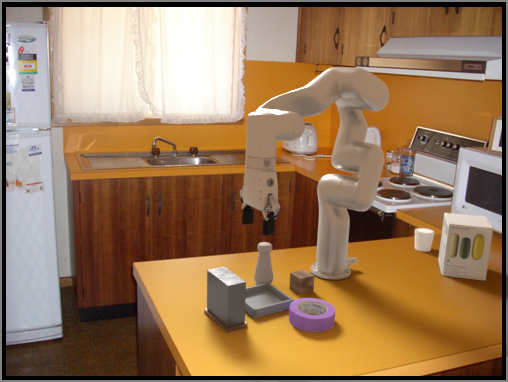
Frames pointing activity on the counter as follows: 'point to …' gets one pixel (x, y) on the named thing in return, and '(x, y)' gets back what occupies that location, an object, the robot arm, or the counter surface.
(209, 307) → the unit
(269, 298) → the tray
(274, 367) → the counter surface
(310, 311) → the masking tape
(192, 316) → the counter surface
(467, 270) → the supplement box
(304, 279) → the walnut cube
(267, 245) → the salt shaker
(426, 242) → the shot glass
